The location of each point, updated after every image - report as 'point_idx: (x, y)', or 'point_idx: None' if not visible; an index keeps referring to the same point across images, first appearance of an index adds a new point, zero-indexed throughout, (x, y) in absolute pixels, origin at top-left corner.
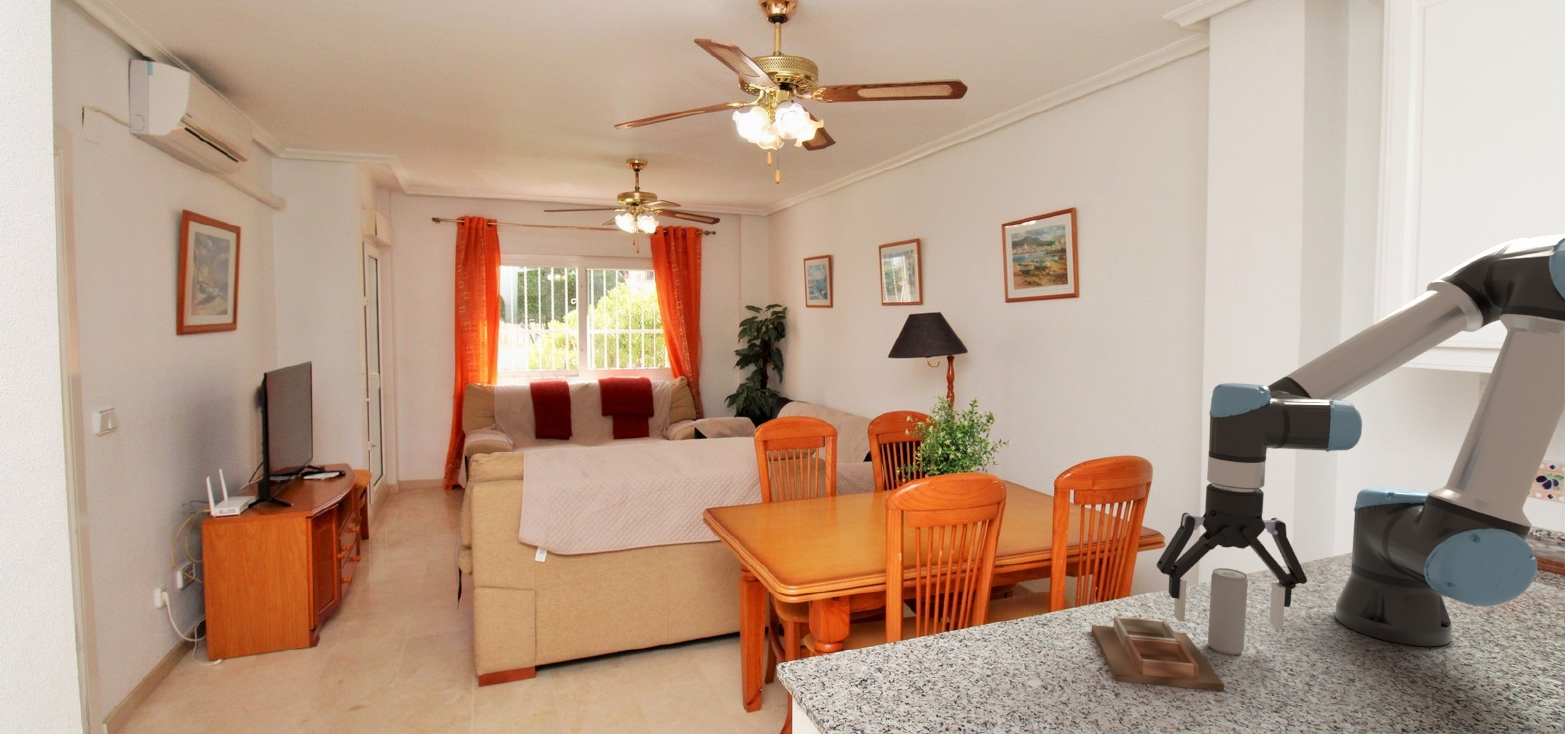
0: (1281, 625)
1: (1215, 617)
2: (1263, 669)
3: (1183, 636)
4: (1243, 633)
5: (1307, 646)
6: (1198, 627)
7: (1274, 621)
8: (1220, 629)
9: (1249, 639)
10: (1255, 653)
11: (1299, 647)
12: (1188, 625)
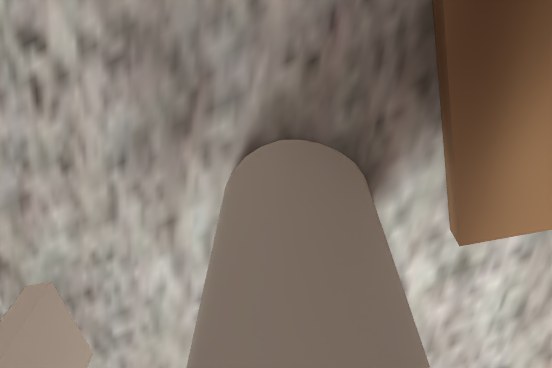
0: (19, 302)
1: (380, 250)
2: (148, 37)
3: (480, 203)
4: (221, 220)
5: None
6: None
7: (55, 332)
8: (342, 197)
9: None
10: (179, 204)
11: None
12: None
